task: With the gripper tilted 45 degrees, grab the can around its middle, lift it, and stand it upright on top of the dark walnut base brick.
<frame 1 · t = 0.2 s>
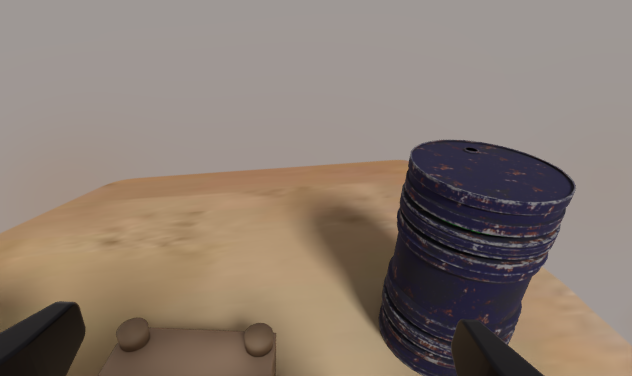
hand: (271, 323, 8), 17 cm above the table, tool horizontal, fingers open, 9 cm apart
storage jar: (436, 331, 29), on the table
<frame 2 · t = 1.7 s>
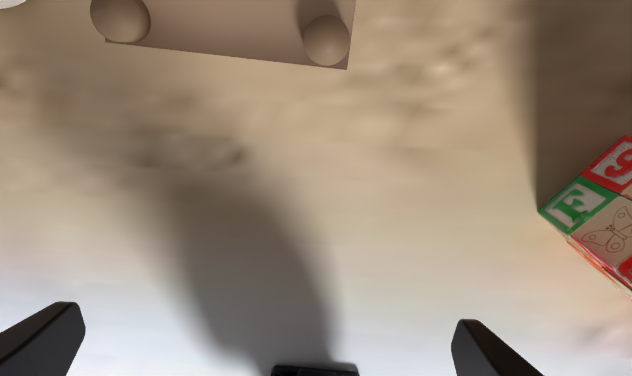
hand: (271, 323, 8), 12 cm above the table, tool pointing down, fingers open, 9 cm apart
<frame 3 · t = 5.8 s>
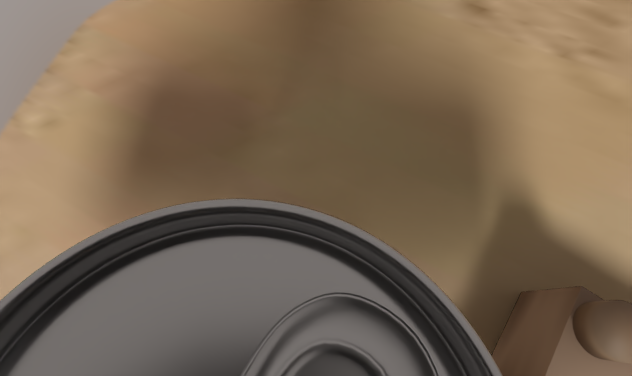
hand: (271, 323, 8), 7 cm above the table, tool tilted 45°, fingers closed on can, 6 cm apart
can: (283, 355, 14), on the table, touching gripper
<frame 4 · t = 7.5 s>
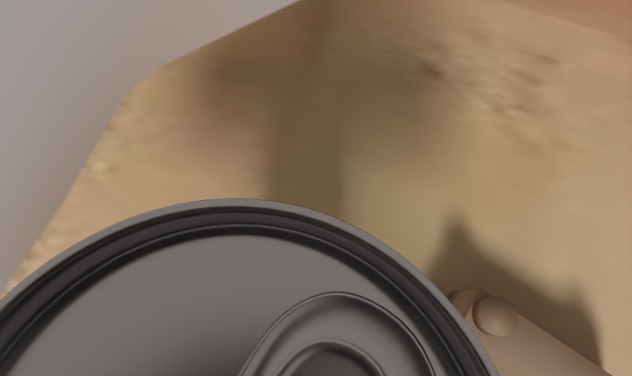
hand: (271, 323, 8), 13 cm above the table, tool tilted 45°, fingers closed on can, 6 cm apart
can: (284, 355, 14), point 6 cm above the table, touching gripper
when the fingers open (11 cm above the table, at t = 9.5 s): can drops 1 cm, resting on base brick.
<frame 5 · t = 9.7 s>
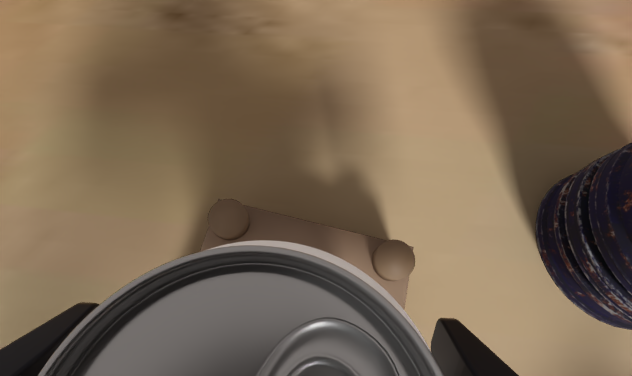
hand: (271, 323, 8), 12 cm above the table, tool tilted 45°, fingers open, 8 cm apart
can: (288, 360, 15), point 3 cm above the table, touching base brick
storage jar: (611, 245, 22), on the table
base brick: (285, 344, 19), on the table
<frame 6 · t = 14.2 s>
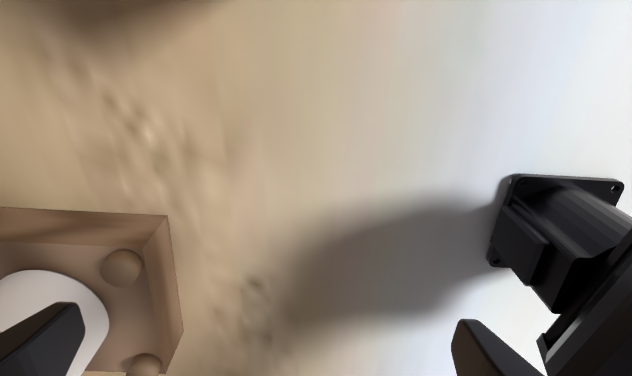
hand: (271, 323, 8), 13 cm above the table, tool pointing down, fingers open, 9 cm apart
can: (59, 306, 21), point 3 cm above the table, touching base brick
base brick: (87, 274, 24), on the table
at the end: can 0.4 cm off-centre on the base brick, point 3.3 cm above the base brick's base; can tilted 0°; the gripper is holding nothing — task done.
